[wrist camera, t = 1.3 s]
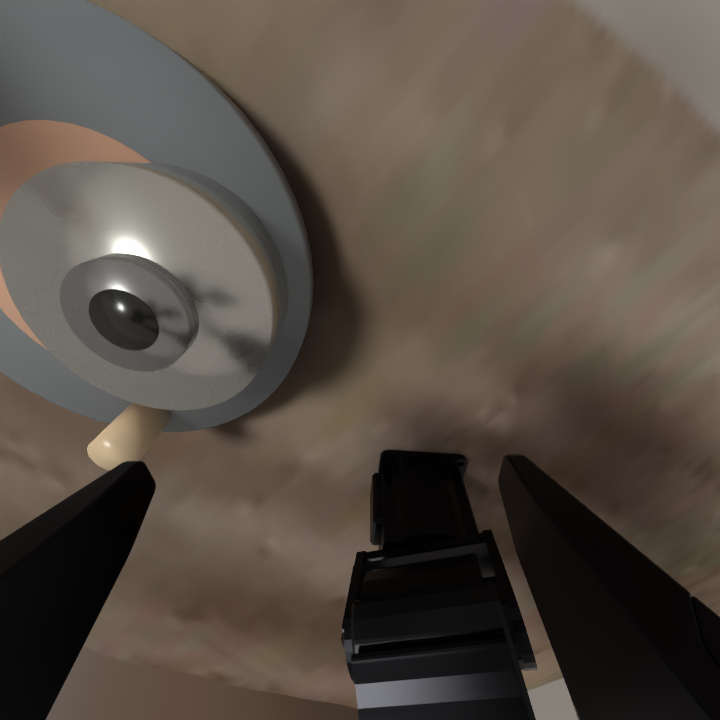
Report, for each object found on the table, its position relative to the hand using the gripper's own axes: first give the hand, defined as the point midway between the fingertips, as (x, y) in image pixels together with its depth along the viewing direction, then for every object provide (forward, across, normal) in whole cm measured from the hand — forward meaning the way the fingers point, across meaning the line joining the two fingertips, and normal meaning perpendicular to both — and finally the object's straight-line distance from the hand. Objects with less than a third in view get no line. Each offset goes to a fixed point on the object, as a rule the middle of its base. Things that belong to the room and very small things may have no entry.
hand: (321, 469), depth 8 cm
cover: (+10, +8, -2) cm, 12 cm away
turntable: (+12, +12, -2) cm, 17 cm away
